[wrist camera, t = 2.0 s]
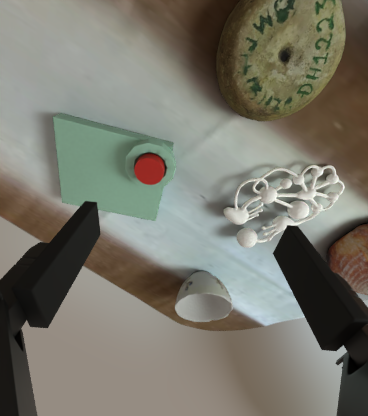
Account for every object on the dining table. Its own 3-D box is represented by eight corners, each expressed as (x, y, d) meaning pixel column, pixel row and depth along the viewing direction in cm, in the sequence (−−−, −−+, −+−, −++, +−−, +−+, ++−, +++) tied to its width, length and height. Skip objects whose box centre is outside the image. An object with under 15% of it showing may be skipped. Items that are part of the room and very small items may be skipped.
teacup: (165, 278, 50) (162, 310, 44) (202, 253, 45) (205, 286, 39) (206, 300, 57) (209, 331, 50) (242, 281, 51) (251, 313, 45)
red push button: (135, 175, 30) (132, 181, 28) (138, 150, 27) (136, 154, 26) (161, 181, 30) (160, 187, 29) (167, 157, 28) (166, 162, 27)
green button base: (67, 195, 36) (56, 208, 33) (60, 109, 28) (44, 116, 25) (161, 214, 39) (159, 228, 35) (180, 141, 30) (180, 151, 27)
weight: (244, -51, 19) (260, -80, 15) (359, 2, 22) (400, -11, 18) (200, 101, 27) (203, 108, 23) (288, 129, 29) (305, 140, 25)
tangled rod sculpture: (330, 135, 31) (348, 142, 27) (340, 207, 38) (356, 220, 34) (213, 187, 36) (215, 199, 32) (240, 243, 42) (245, 258, 39)
